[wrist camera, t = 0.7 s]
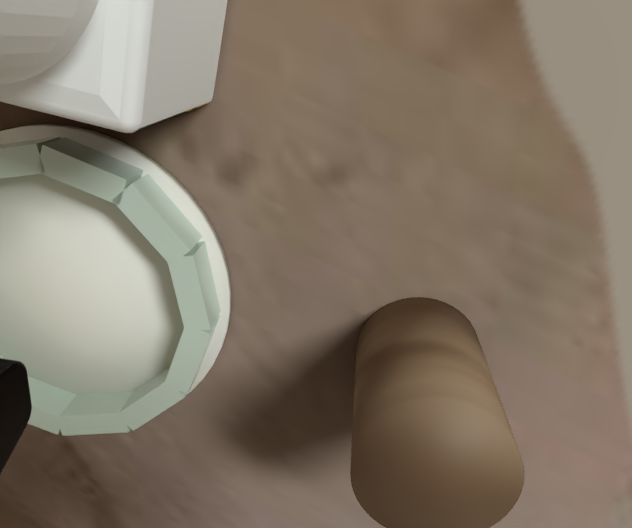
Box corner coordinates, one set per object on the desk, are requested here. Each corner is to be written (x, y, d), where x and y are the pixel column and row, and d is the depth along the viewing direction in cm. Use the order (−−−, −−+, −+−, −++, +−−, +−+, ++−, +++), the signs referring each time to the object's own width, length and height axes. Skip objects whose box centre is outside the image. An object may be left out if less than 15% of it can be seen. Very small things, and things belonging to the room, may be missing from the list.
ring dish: (180, 451, 25) (165, 484, 24) (-88, 348, 25) (-127, 374, 23) (277, 206, 20) (268, 223, 19) (-55, 66, 20) (-102, 69, 18)
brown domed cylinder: (443, 418, 23) (471, 561, 17) (337, 376, 23) (324, 505, 17) (502, 326, 22) (558, 447, 15) (387, 278, 21) (395, 382, 15)
